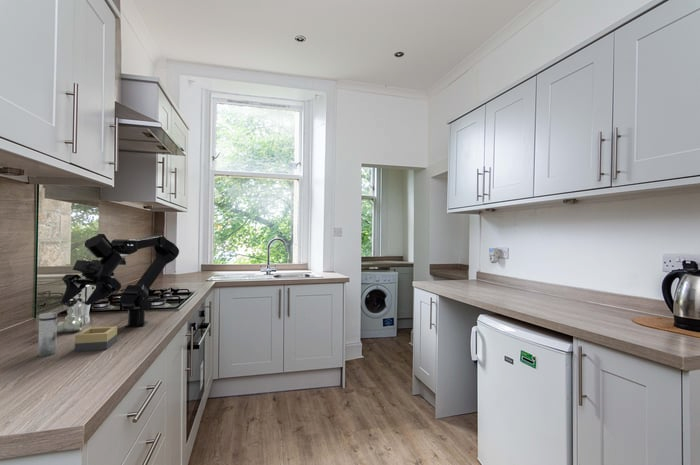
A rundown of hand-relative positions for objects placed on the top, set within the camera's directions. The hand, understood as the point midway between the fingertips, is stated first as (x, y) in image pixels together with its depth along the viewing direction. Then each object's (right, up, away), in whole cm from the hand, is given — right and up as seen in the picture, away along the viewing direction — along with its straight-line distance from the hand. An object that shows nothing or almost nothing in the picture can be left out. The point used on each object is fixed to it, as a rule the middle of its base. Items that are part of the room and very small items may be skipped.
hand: (74, 303), depth 108 cm
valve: (-14, -14, +15) cm, 24 cm away
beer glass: (-19, -14, +26) cm, 35 cm away
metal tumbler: (-2, -13, -8) cm, 16 cm away
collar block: (+8, -14, 0) cm, 16 cm away
